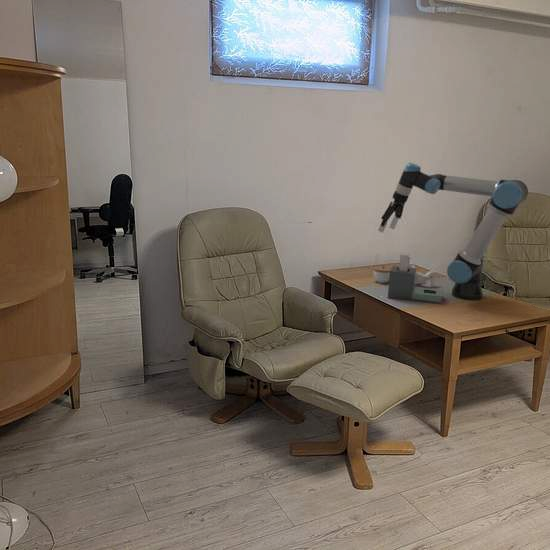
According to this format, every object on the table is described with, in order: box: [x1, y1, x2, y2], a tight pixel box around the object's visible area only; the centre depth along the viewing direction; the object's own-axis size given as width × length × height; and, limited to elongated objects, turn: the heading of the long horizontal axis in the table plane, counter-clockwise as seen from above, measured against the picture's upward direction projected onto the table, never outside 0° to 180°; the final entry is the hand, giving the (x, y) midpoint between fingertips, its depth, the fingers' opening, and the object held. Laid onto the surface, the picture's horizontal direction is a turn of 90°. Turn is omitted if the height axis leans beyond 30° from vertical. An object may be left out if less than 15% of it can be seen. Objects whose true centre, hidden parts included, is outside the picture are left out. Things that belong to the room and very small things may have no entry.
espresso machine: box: [387, 265, 444, 305], centre depth 274 cm, size 26×12×14 cm, turn 71°
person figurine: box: [408, 262, 438, 288], centre depth 296 cm, size 13×13×18 cm
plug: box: [398, 252, 411, 272], centre depth 273 cm, size 5×4×11 cm
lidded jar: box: [372, 265, 392, 284], centre depth 302 cm, size 11×11×9 cm
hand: (386, 230), depth 285 cm, fingers open, 13 cm apart
